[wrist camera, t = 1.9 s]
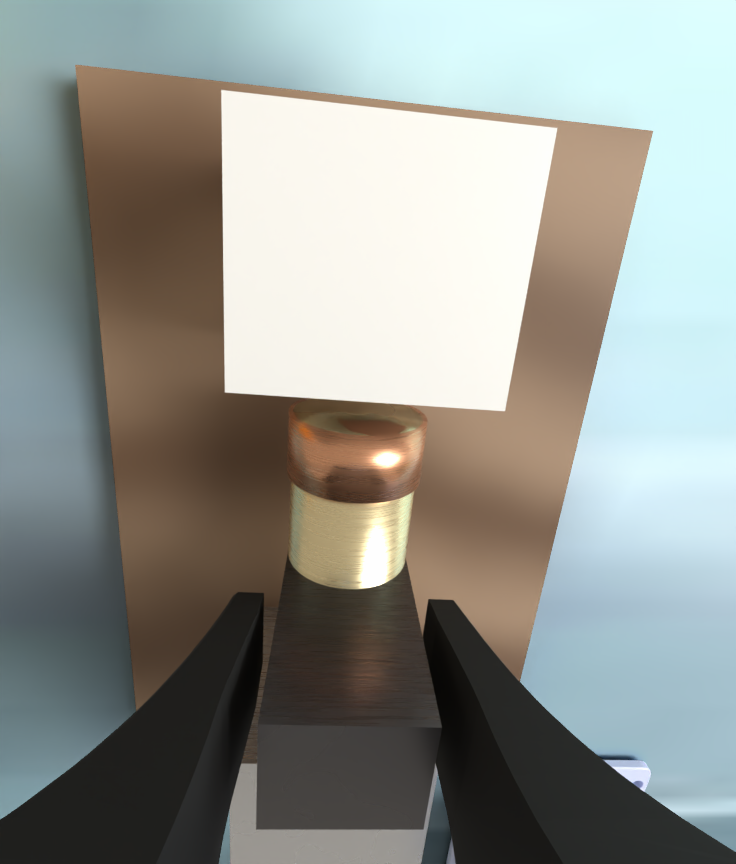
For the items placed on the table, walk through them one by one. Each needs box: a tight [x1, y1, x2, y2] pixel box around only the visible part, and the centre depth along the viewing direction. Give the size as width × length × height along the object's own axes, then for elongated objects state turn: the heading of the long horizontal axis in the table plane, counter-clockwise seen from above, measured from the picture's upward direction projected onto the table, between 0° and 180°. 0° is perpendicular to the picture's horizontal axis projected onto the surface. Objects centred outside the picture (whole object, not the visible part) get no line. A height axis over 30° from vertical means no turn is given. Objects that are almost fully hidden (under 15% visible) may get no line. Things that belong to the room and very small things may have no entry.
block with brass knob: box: [256, 398, 442, 830], centre depth 12 cm, size 14×3×7 cm, turn 175°
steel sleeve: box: [230, 607, 438, 864], centre depth 15 cm, size 6×5×6 cm
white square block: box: [221, 90, 557, 411], centre depth 11 cm, size 4×5×6 cm
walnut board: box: [75, 65, 653, 711], centre depth 16 cm, size 21×14×1 cm, turn 175°
